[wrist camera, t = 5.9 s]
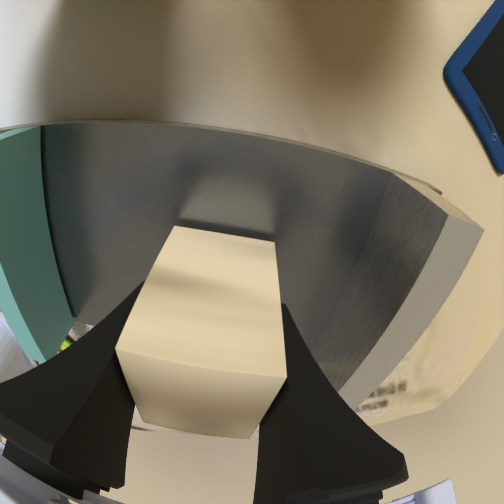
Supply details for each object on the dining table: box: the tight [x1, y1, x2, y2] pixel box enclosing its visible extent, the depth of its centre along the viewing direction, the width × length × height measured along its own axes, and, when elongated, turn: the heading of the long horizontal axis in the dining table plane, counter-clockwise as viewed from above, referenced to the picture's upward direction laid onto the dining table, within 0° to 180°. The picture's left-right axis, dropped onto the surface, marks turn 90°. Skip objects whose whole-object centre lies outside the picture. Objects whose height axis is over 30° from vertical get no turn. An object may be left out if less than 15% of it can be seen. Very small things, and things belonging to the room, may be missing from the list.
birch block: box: [115, 226, 287, 439], centre depth 9 cm, size 5×4×6 cm
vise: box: [0, 119, 484, 411], centre depth 11 cm, size 12×24×5 cm, turn 79°
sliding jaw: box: [0, 126, 74, 363], centre depth 9 cm, size 12×2×4 cm, turn 169°
